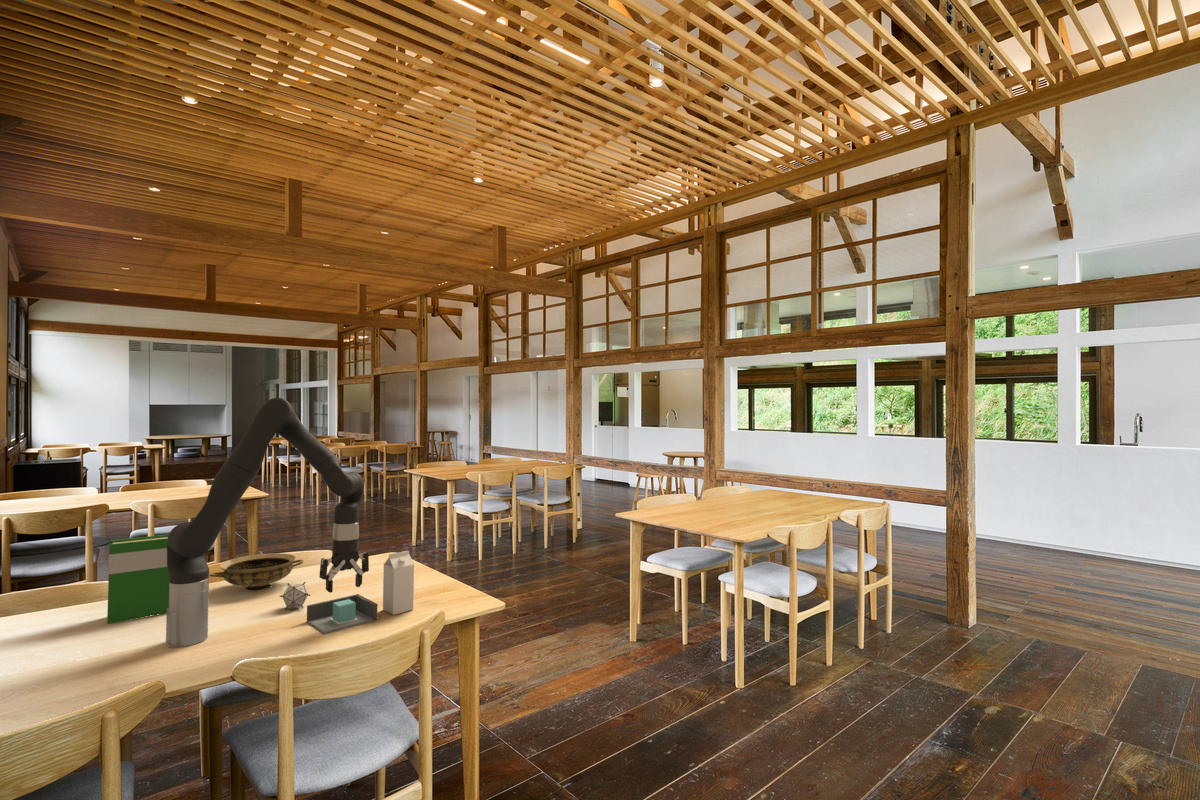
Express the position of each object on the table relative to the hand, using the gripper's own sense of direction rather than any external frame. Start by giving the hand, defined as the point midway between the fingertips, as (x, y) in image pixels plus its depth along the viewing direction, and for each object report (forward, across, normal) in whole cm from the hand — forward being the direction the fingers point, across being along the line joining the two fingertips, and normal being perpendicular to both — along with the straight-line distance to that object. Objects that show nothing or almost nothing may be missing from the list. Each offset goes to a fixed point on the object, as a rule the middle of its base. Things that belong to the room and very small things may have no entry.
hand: (344, 589), depth 178 cm
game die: (+10, -6, +24) cm, 27 cm away
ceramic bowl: (+10, -8, +56) cm, 58 cm away
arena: (+10, 0, +1) cm, 10 cm away
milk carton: (+10, +17, -2) cm, 20 cm away
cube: (+9, 0, 0) cm, 9 cm away
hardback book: (+11, -42, +51) cm, 67 cm away
